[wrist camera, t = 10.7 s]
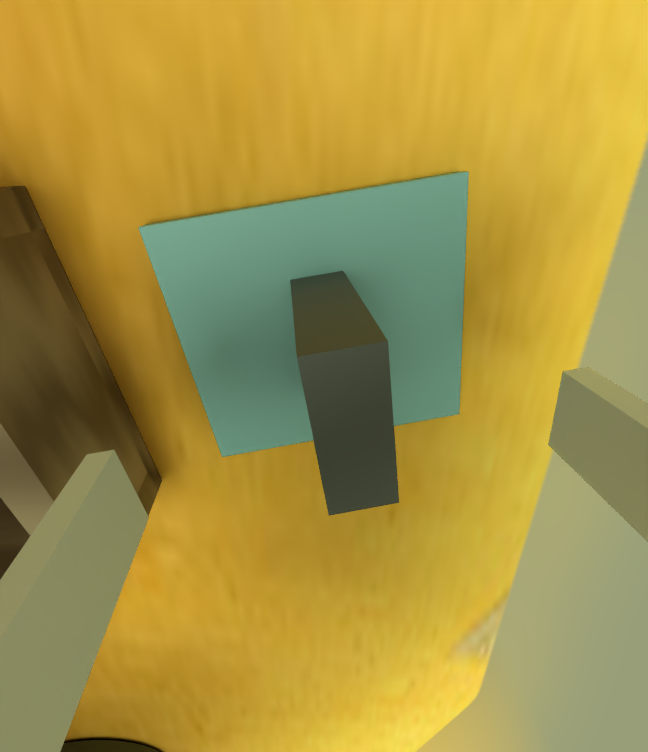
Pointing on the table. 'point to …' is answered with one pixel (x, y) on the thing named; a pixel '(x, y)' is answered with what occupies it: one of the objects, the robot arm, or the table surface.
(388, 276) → the cover plate
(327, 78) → the table surface
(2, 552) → the walnut box
